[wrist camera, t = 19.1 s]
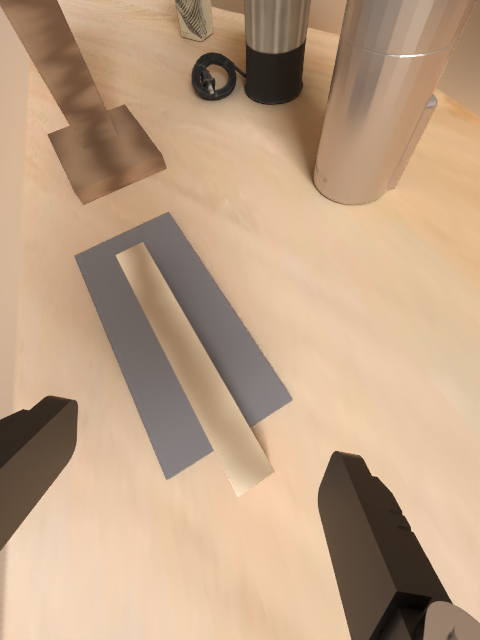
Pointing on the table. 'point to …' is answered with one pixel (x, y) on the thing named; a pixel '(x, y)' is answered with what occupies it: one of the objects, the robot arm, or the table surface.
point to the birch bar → (196, 374)
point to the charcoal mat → (148, 356)
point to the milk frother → (264, 53)
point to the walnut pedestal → (82, 107)
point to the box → (195, 18)
